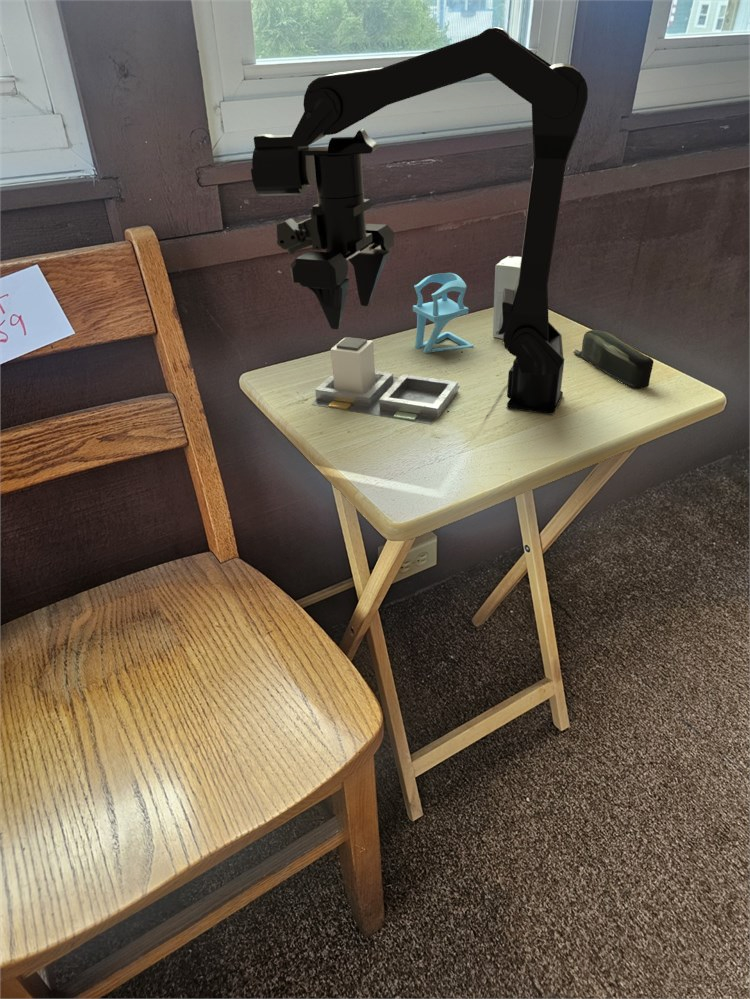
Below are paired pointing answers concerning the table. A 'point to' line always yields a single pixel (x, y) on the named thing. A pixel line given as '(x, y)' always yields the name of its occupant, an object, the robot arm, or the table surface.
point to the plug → (353, 365)
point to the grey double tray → (392, 397)
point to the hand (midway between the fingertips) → (350, 316)
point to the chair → (440, 311)
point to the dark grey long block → (616, 358)
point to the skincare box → (504, 286)
